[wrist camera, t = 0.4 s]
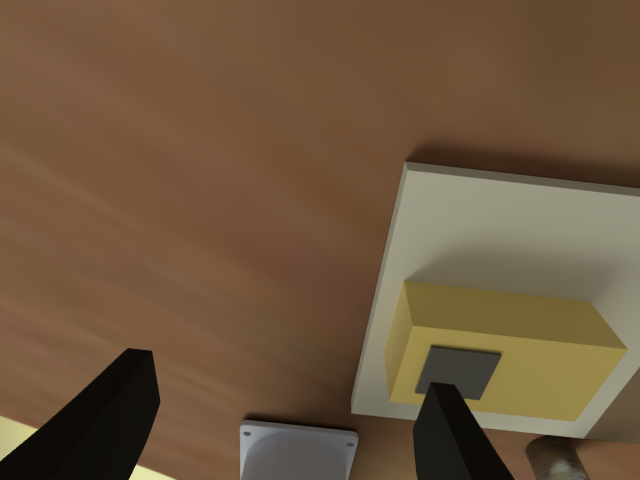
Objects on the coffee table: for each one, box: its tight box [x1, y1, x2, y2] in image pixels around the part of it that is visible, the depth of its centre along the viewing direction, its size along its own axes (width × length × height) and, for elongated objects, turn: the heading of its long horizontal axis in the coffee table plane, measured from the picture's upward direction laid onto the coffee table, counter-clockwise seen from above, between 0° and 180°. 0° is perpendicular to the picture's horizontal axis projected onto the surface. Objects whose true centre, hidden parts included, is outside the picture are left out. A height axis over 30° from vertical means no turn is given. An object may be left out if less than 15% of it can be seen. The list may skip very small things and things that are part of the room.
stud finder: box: [384, 281, 628, 422], centre depth 19 cm, size 5×9×3 cm, turn 84°
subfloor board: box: [351, 161, 640, 445], centre depth 21 cm, size 16×24×1 cm, turn 84°
